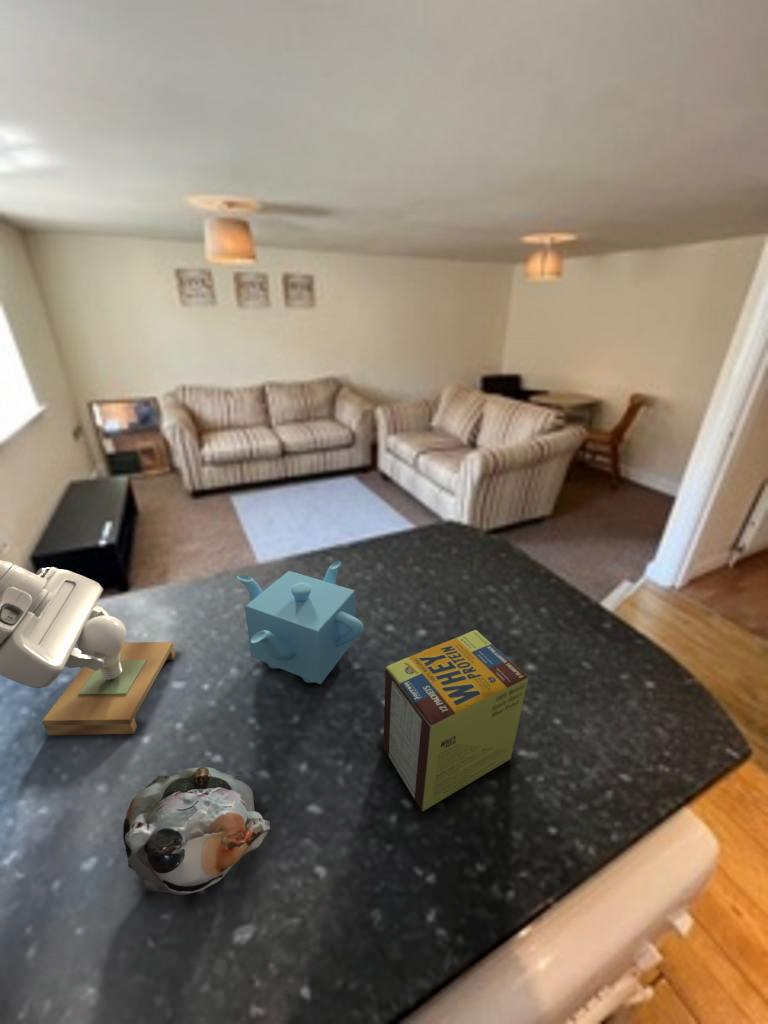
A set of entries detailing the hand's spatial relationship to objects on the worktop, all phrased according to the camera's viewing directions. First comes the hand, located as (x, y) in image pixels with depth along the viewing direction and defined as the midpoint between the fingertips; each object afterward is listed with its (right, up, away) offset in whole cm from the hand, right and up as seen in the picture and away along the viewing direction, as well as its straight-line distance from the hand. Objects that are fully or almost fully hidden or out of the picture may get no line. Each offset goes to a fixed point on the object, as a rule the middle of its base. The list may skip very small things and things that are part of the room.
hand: (109, 645), depth 68 cm
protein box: (+50, -14, -5) cm, 53 cm away
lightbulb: (-1, -6, +2) cm, 6 cm away
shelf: (-1, -8, +4) cm, 9 cm away
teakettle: (+27, -5, +12) cm, 30 cm away
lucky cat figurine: (+21, -18, -16) cm, 32 cm away
